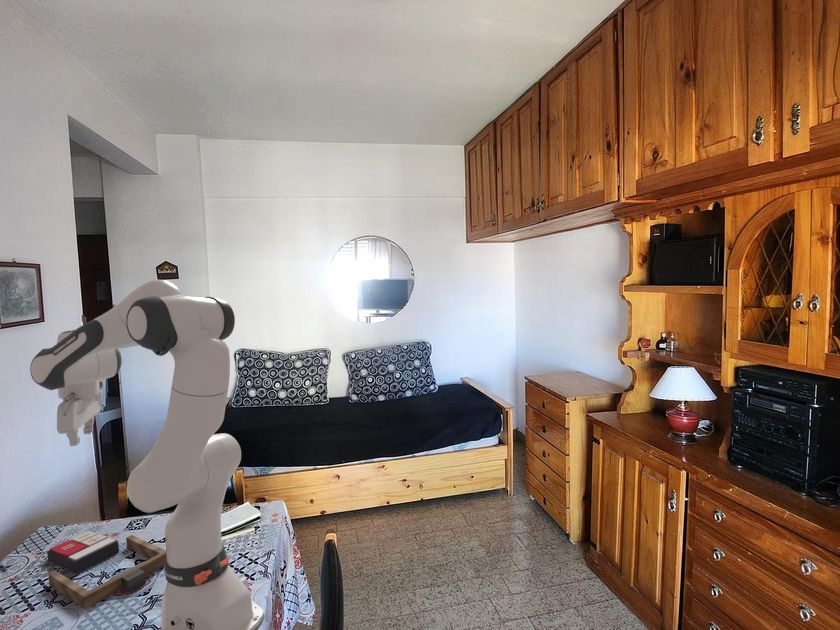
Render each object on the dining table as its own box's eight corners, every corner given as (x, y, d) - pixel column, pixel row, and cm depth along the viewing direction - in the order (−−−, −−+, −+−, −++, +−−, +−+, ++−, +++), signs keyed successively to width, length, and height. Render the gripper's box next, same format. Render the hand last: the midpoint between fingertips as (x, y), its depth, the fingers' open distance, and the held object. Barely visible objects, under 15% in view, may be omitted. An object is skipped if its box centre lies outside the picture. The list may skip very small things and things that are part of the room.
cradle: (176, 565, 121) (175, 554, 121) (92, 613, 104) (90, 601, 103) (132, 544, 132) (131, 534, 131) (49, 585, 114) (48, 573, 114)
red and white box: (89, 529, 135) (118, 537, 128) (91, 543, 135) (120, 552, 128) (45, 548, 125) (74, 559, 118) (47, 563, 126) (76, 575, 118)
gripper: (77, 397, 114) (80, 451, 115) (105, 380, 133) (107, 426, 134) (47, 399, 112) (50, 454, 113) (79, 381, 131) (82, 428, 132)
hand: (81, 438), depth 123 cm, fingers open, 8 cm apart
